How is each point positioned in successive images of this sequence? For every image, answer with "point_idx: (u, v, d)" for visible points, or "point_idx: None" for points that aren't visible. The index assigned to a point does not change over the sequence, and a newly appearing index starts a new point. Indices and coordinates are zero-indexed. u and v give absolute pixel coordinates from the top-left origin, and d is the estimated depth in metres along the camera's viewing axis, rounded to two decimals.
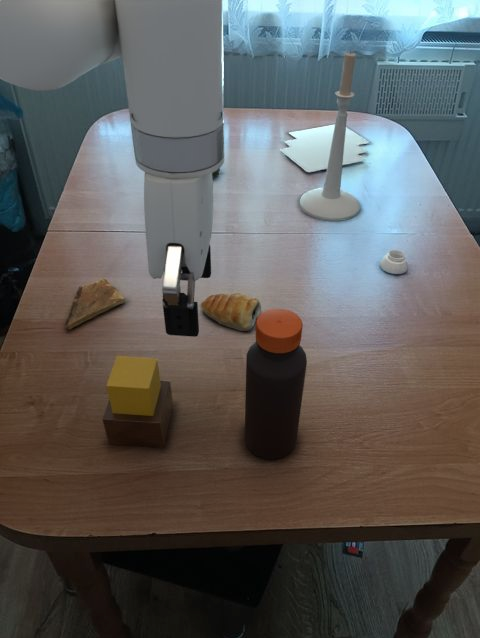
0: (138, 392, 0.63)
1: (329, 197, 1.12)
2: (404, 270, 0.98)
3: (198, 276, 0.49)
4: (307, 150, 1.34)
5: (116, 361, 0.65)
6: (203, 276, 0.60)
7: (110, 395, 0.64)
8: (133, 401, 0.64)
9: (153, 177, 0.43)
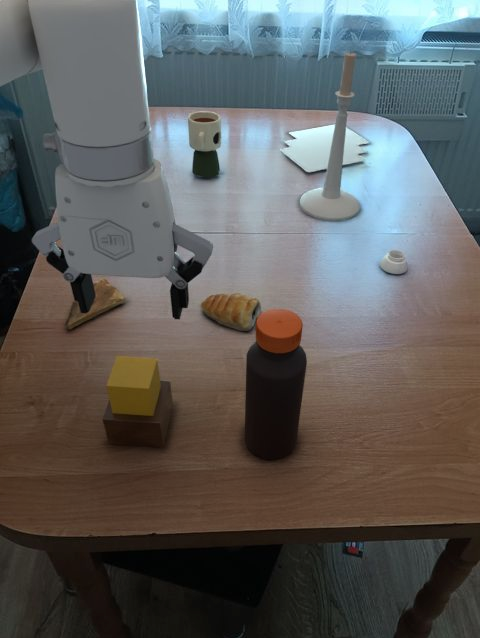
0: (138, 392, 0.63)
1: (329, 197, 1.12)
2: (404, 270, 0.98)
3: None
4: (307, 150, 1.34)
5: (116, 361, 0.65)
6: (93, 298, 0.58)
7: (110, 395, 0.64)
8: (133, 401, 0.64)
9: (149, 177, 0.45)
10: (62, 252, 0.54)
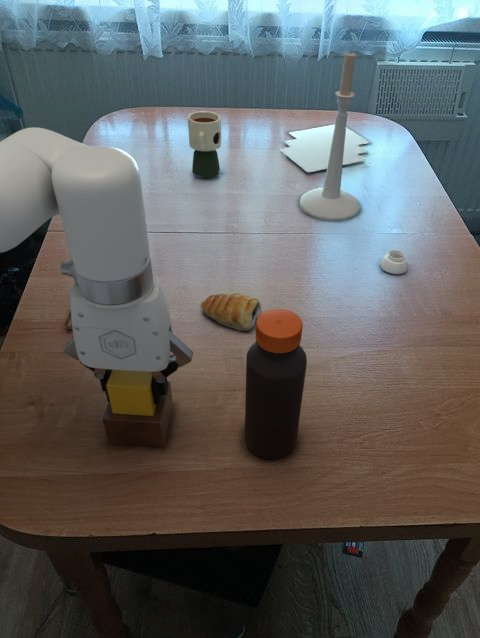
0: (138, 392, 0.63)
1: (329, 197, 1.12)
2: (404, 270, 0.98)
3: None
4: (307, 150, 1.34)
5: None
6: None
7: (110, 395, 0.64)
8: (133, 401, 0.64)
9: (149, 297, 0.54)
10: None
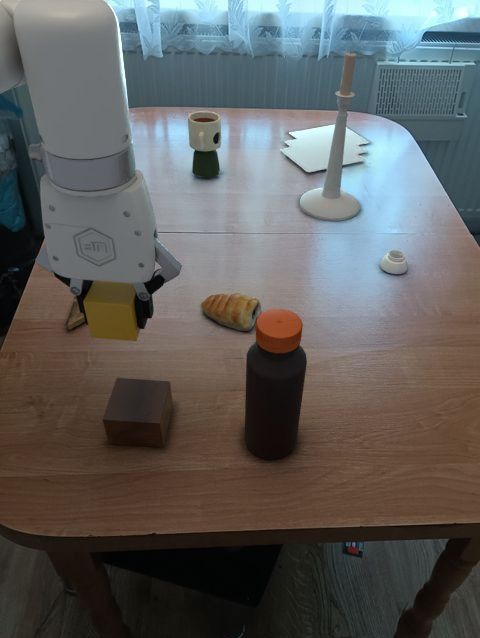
0: (119, 310, 0.56)
1: (329, 197, 1.12)
2: (404, 270, 0.98)
3: None
4: (307, 150, 1.34)
5: None
6: None
7: (88, 314, 0.57)
8: (114, 322, 0.57)
9: (130, 188, 0.47)
10: None
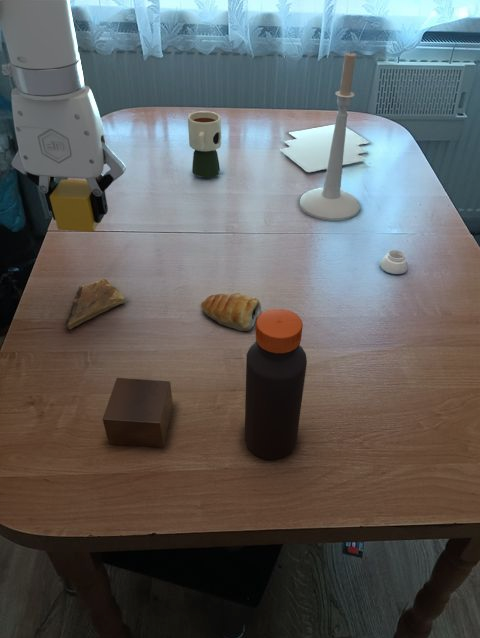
0: (78, 203, 0.71)
1: (329, 197, 1.12)
2: (404, 270, 0.98)
3: None
4: (307, 150, 1.34)
5: (61, 182, 0.74)
6: None
7: (54, 208, 0.72)
8: (74, 215, 0.72)
9: (79, 96, 0.63)
10: None
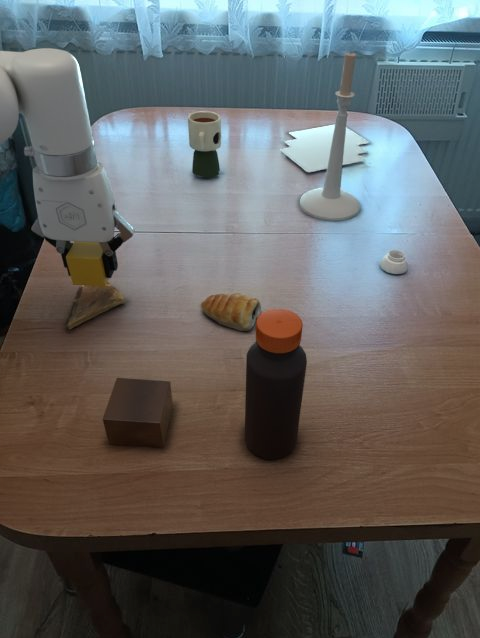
0: (91, 263, 0.79)
1: (329, 197, 1.12)
2: (404, 270, 0.98)
3: None
4: (307, 150, 1.34)
5: (75, 242, 0.81)
6: None
7: (69, 266, 0.79)
8: (88, 272, 0.80)
9: (93, 174, 0.70)
10: None
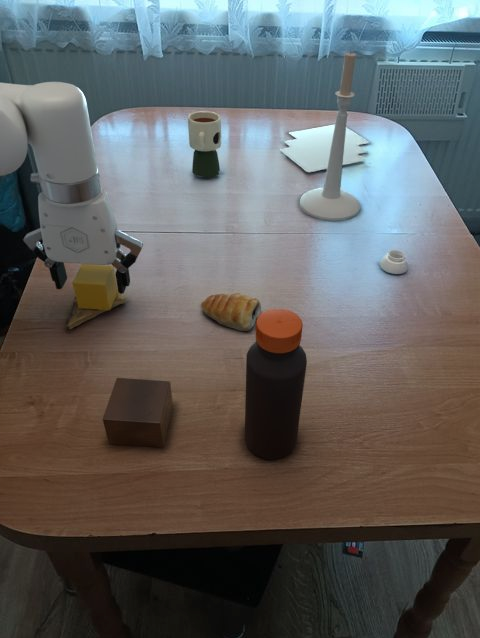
0: (97, 288, 0.82)
1: (329, 197, 1.12)
2: (404, 270, 0.98)
3: (119, 244, 0.81)
4: (307, 150, 1.34)
5: (81, 267, 0.84)
6: (65, 279, 0.85)
7: (75, 291, 0.83)
8: (93, 297, 0.83)
9: (97, 201, 0.73)
10: (44, 247, 0.81)
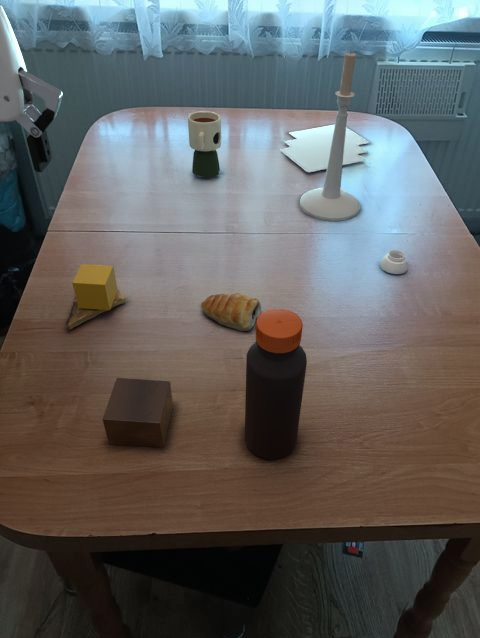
0: (96, 288, 0.82)
1: (329, 197, 1.12)
2: (404, 270, 0.98)
3: None
4: (307, 150, 1.34)
5: (81, 267, 0.84)
6: None
7: (75, 291, 0.83)
8: (93, 297, 0.83)
9: None
10: None
